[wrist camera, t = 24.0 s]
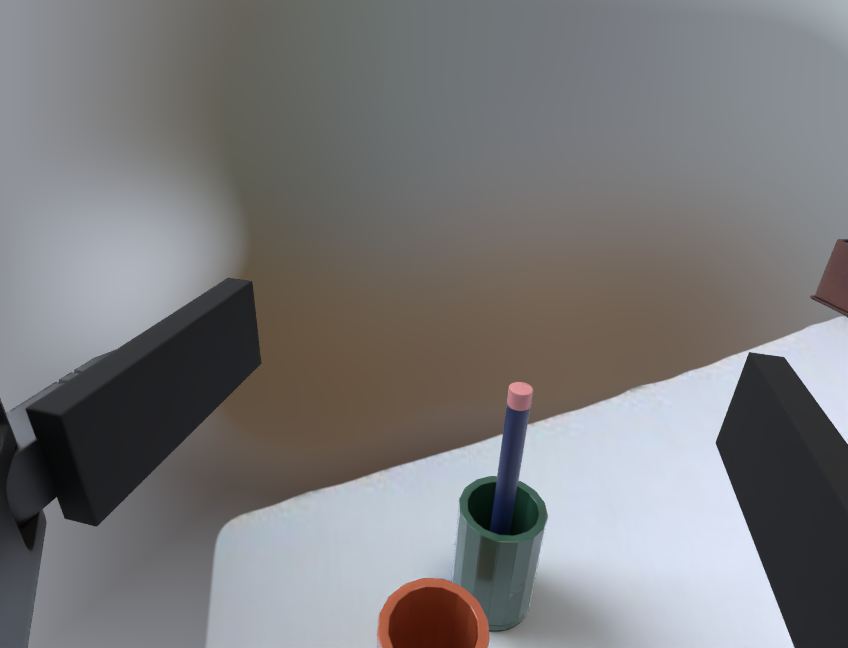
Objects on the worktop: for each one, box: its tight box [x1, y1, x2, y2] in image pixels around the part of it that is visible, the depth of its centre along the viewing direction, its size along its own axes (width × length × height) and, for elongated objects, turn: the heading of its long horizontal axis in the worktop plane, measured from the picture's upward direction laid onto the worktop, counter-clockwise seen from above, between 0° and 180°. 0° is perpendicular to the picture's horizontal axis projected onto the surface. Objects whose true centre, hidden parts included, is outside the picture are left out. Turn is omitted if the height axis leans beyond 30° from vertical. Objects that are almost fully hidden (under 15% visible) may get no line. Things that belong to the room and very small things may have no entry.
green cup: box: [452, 476, 548, 631], centre depth 39 cm, size 6×6×9 cm
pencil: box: [490, 382, 533, 535], centre depth 36 cm, size 1×1×18 cm
